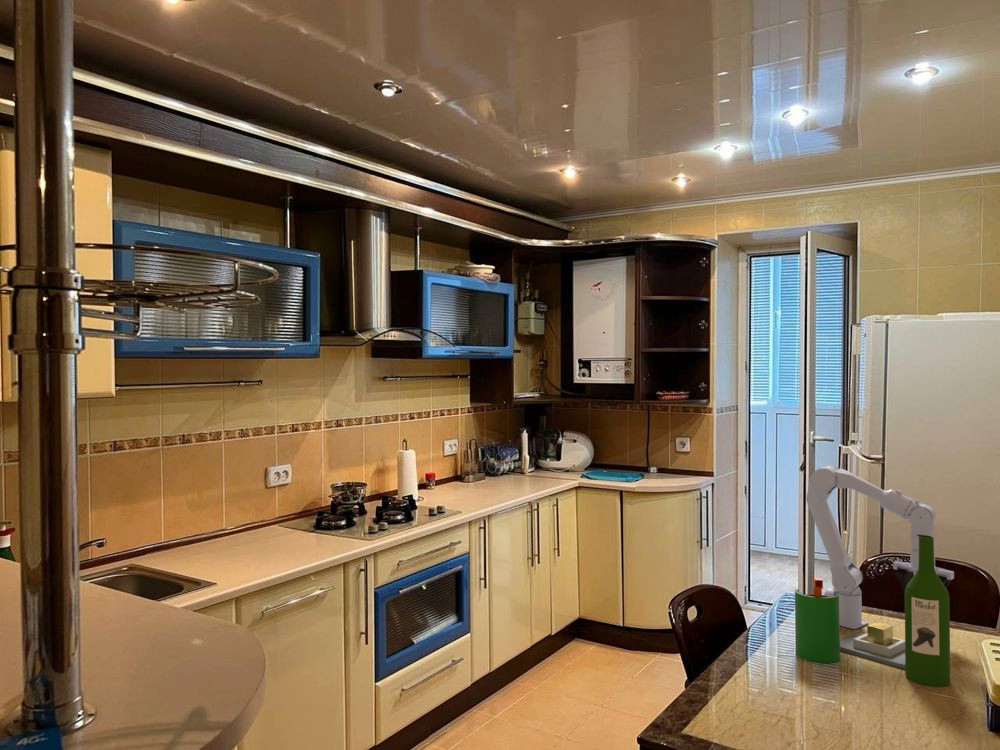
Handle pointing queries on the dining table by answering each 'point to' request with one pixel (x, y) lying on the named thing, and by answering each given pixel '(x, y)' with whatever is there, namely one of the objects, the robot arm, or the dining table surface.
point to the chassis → (875, 650)
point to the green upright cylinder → (817, 625)
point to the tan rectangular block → (880, 634)
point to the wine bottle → (927, 622)
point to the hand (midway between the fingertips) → (923, 601)
